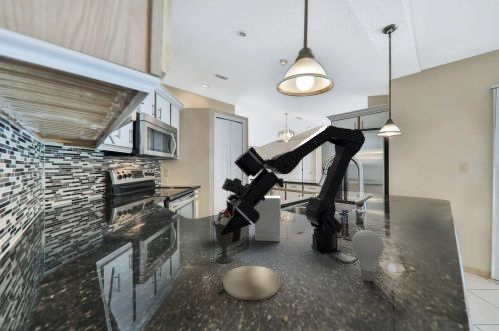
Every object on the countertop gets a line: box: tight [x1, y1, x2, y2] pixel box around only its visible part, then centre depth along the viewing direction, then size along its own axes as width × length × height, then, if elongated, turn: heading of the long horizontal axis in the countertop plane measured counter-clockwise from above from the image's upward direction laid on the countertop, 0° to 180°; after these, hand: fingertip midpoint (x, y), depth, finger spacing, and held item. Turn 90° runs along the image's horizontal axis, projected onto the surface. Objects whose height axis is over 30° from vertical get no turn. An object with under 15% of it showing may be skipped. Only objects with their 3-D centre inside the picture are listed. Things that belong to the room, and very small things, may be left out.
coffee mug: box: [218, 208, 242, 243], centre depth 78 cm, size 12×9×10 cm
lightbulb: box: [351, 229, 384, 282], centre depth 47 cm, size 6×6×11 cm
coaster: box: [222, 265, 281, 301], centre depth 46 cm, size 12×12×1 cm
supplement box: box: [254, 195, 282, 243], centre depth 79 cm, size 9×9×15 cm
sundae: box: [211, 205, 234, 264], centre depth 59 cm, size 7×7×15 cm
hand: (219, 229), depth 59 cm, fingers open, 9 cm apart
